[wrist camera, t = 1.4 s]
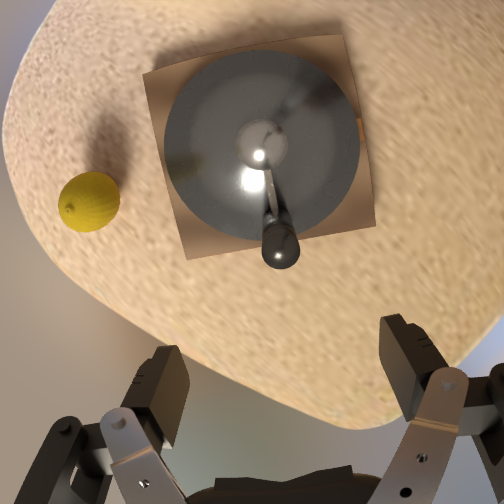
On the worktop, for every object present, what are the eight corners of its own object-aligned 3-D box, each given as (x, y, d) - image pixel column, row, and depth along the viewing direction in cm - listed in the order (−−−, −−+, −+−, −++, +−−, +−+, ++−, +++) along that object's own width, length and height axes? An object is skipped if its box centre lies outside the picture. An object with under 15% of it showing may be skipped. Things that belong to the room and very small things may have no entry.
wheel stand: (151, 78, 26) (142, 74, 24) (336, 41, 25) (342, 33, 22) (192, 251, 32) (186, 260, 30) (368, 219, 31) (376, 226, 28)
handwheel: (153, 80, 24) (109, 61, 16) (334, 43, 22) (362, 9, 14) (193, 249, 29) (167, 292, 21) (365, 218, 28) (402, 251, 20)
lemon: (137, 213, 31) (102, 237, 24) (94, 223, 32) (53, 248, 24) (125, 161, 29) (85, 170, 22) (81, 174, 30) (37, 188, 22)
